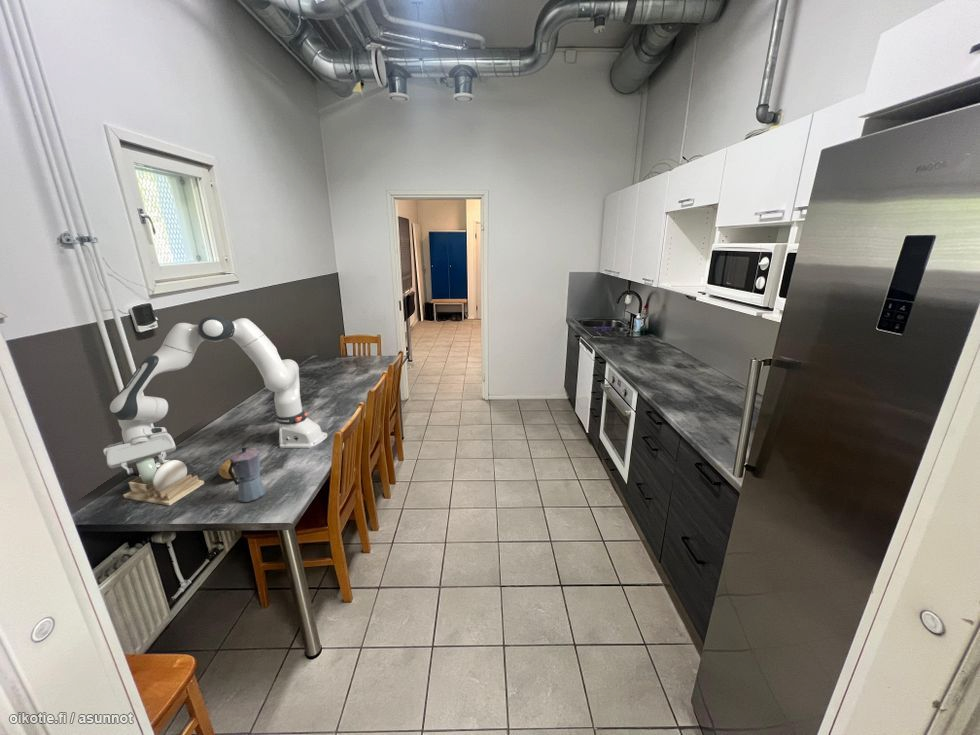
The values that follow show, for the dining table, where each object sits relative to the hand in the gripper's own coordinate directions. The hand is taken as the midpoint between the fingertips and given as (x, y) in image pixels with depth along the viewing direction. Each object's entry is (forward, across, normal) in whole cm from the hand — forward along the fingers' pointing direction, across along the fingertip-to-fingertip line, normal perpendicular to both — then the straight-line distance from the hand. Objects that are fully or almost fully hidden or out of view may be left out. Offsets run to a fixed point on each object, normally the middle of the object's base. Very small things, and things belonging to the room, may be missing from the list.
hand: (147, 468), depth 148 cm
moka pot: (+30, +27, -17) cm, 44 cm away
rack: (+10, +3, +3) cm, 11 cm away
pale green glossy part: (+5, 0, +6) cm, 8 cm away
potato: (+15, +26, -2) cm, 30 cm away
